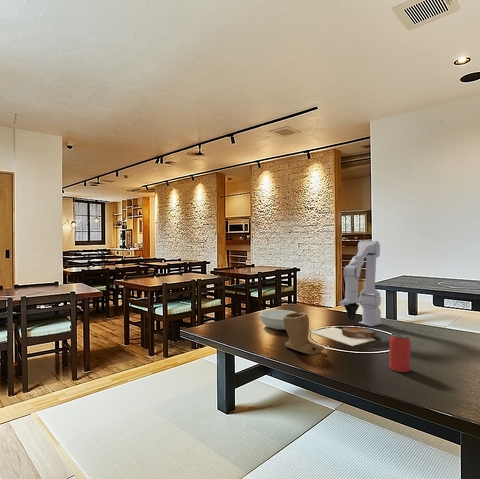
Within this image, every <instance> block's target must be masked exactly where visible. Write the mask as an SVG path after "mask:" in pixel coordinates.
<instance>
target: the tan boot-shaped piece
mask: <svg viewBox="0 0 480 479" xmlns="http://www.w3.org/2000/svg"><path fill="white" fill-rule="evenodd" d="M293 312H294V313H290V314H287V315H285V316H284V325H285V328H286V330H285V331H286V333H287V336H288V340H287V341H286V342H284V345H285V347H287V348H289V349H292V350H294V351H297V352H301V353H303V354H307V355H316V354H319V353H321V352H323V351H324V350H325V347H324V346H322V345H319V344H316V343H315V342H311V341H310V340H309V330H310V320H309V316H308V314H307V313H306V312H299V311H293Z"/></svg>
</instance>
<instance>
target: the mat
mask: <svg viewBox="0 0 480 479" xmlns="http://www.w3.org/2000/svg"><path fill="white" fill-rule="evenodd" d="M310 334H313V335H316V336H320V337H323V338H326V339H327V340H332V341H335V342H338V343H341V344H344V345H347V346H350V347H355V346H359V345H363V344H366V343H369V342H374V341H376V339H375V338H374V337H373V338H359V337H348V336H344V335H343V334H342V328H338V327H334V326H333V327H332V326H331V327H326V328H322V329H317V330H313V331H310Z"/></svg>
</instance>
